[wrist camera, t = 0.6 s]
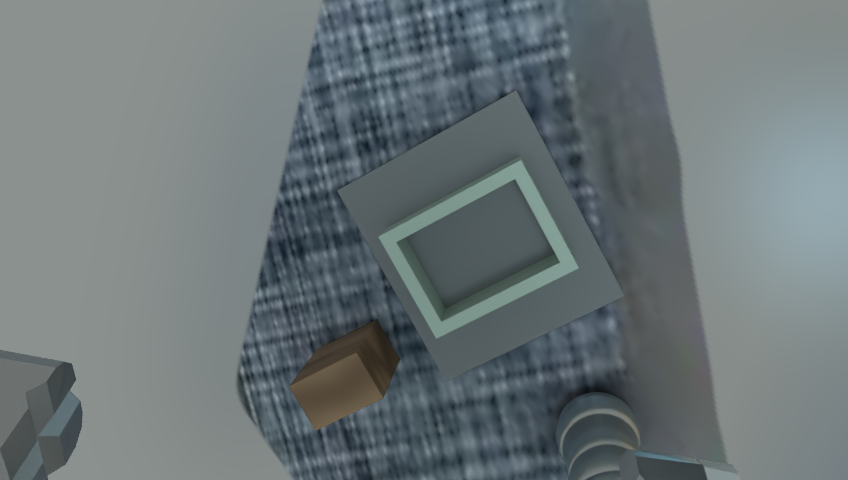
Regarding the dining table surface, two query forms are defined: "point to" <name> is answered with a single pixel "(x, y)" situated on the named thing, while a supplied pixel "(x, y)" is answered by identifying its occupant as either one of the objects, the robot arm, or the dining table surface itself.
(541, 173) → the board
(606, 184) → the dining table surface
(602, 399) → the plastic bottle
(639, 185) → the dining table surface
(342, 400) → the walnut block
